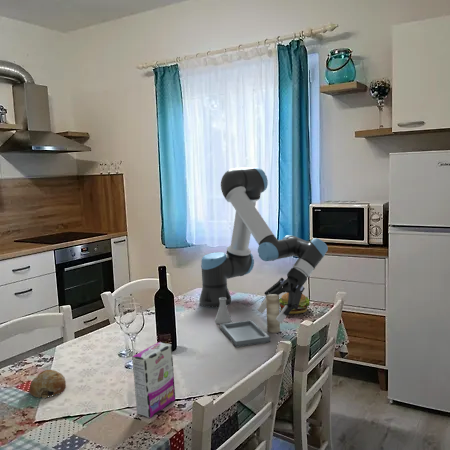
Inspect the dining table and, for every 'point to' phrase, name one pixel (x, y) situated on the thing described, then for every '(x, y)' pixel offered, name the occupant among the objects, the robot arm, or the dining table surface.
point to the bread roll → (47, 384)
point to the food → (302, 304)
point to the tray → (245, 333)
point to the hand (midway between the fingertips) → (268, 316)
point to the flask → (223, 313)
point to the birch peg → (272, 313)
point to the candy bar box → (153, 379)
